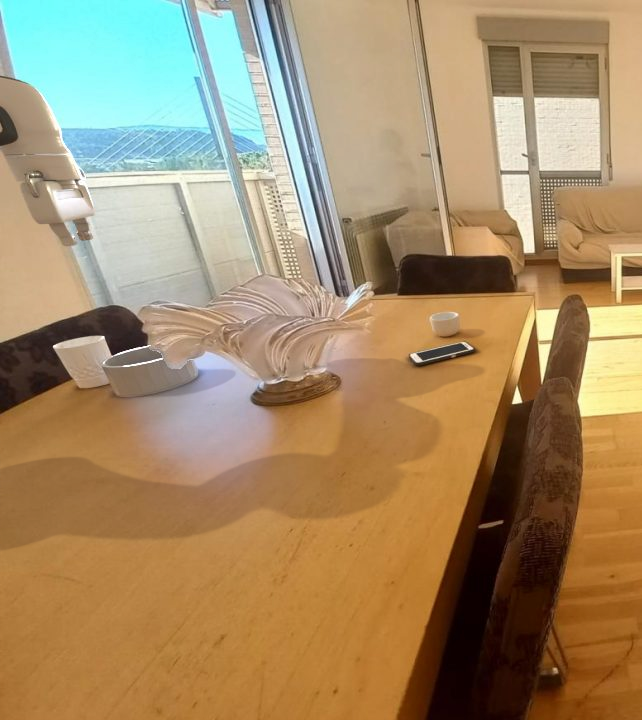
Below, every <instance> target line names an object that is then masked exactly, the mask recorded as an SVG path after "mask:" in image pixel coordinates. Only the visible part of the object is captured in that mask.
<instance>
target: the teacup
mask: <svg viewBox="0 0 642 720" xmlns="http://www.w3.org/2000/svg"><path fill="white" fill-rule="evenodd" d="M460 321H461V319H460V314H459V313H458V312H455V311H442V312H437V313H434V314H432V315H430V316H429V322H430V326H431V328H432V331H433V333H434V334H435V335H436V336H439V337H443V338H448V337H452V336H454V335H456V334H457V333H458V332H459V330H460V327H461V322H460Z"/></svg>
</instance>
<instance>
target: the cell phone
mask: <svg viewBox="0 0 642 720" xmlns="http://www.w3.org/2000/svg"><path fill="white" fill-rule="evenodd" d="M475 352H476V348H475V347H474V346H473V345H471V343H469V342H467V341H465V340H461V341H458V342H453V343H449V344H445V345H441V346H437V347H431V348H428V349H423V350H420V351H415V352H410V353H408V359H409V360H410V361H411V362H412V363H413V364H414V366H417V367H420V366H424V365H428V364H433V363H437V362H440V361H444V360H445V361H446V360H449V359H453V358H457V357H461V356H465V355H468V354H472V353H475Z"/></svg>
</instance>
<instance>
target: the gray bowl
mask: <svg viewBox="0 0 642 720" xmlns="http://www.w3.org/2000/svg"><path fill="white" fill-rule="evenodd" d="M149 346H150V345H147V346H142V347H136V348H133V349H129V350H125V351H122V352H119V353H117V354H114V355H112V356H111V357H109V358H107V359H105V360H103V361H102V362H101V363H100V364H101V366H102V368H103V370H104V372H105V374H106V376H107V378H108V380H109V382H110V383H109V384H110V386H111V388H112V391H113V392H114V394H115V395H116V396H117V397H119V398H120V397H122V398H134V397H144V396H149V395H153V394H159V393H162V392H166V391H169V390H173V389H176V388H178V387H181V386H184V385H186V384H188V383H190V382H192V381H194V380H195V379H197V377H198V376H199V369H198V368H197V365H196V363H195V360H194V359H193V360H189V361H187V363H186V364H185V365H184V366H183V367H182V368H181V369H171V368H169V367H168V366H167V364H166V362H165V361H164V359H163V357H162V355H161V353H159V352H157V351H152V350H150V349H149Z"/></svg>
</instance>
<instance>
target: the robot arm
mask: <svg viewBox="0 0 642 720" xmlns="http://www.w3.org/2000/svg"><path fill="white" fill-rule="evenodd" d="M0 152H1V154H2V155H3V157H4V159H5V161H6V164H7V165H8V167H9V170H10V171H11V173H12V176H13V177H14V180H15V181H16V182H21V183H19V188H20V192H21V194H22V197H23V200H24V202H25V205H26V207H27V209H28V212H29V214H30V216H31V218H32V219H33V220H34V222H35V223H37V224H38V225H49V228H50V229H51V230H52V232H53V233H54V234H55V235H56V236H57V237H58V239H59V241H60V243H61V245H62V246H63V247H72V246H73V247H74V246H76V245H78V241H77V239H76V236H75V235H74V234H72V232H71V230H70V226H69V224H68V222H72V224H74V226H75V228H76V231H77V232H76V235H77V237H78V239H79V240H80V241H82V242H84V241H91V240H93V239H94V235H93V234H92V231H91V224H90V220H89V217H94V216H95V215H96V214H95V213H96V212H95V207H94V203H93V200H92V197H91V195H90V192H89V189H88V187H87V183H86V182H85V180H87V176H86V173H85V171H84V170H83V169H82V167H79V166H78V164H77V163H76V161H75V158H74V157H73V155H72V153H71V151H70V150H69V148H67V146H66V144H65V143H64V141H63V136H62V130H61V127H60V125H59V123H58V121H57V119H56V117H55V115H54V113H53V110H52V109H51V107H50V105H49V104H48V102H47V100H46V98H45V97H44V96H43V94H42V93H41V92H40V91H39V90H38V89H37V88H36V87H35V86H33V85H31V84H30V83H29V82H26V81H23V80H21V79H17V78H13V77H9V76H4V75H0Z"/></svg>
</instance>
